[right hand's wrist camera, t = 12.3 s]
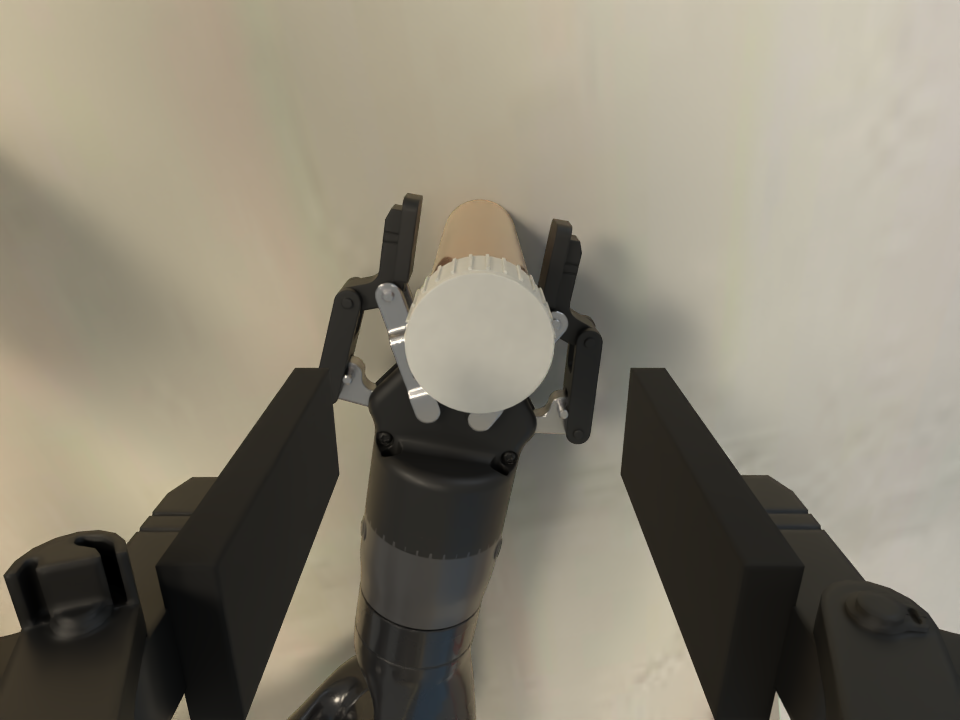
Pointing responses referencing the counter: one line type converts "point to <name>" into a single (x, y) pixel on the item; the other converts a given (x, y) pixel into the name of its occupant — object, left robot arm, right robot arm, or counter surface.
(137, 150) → the counter surface
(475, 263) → the lid
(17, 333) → the counter surface
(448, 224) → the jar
